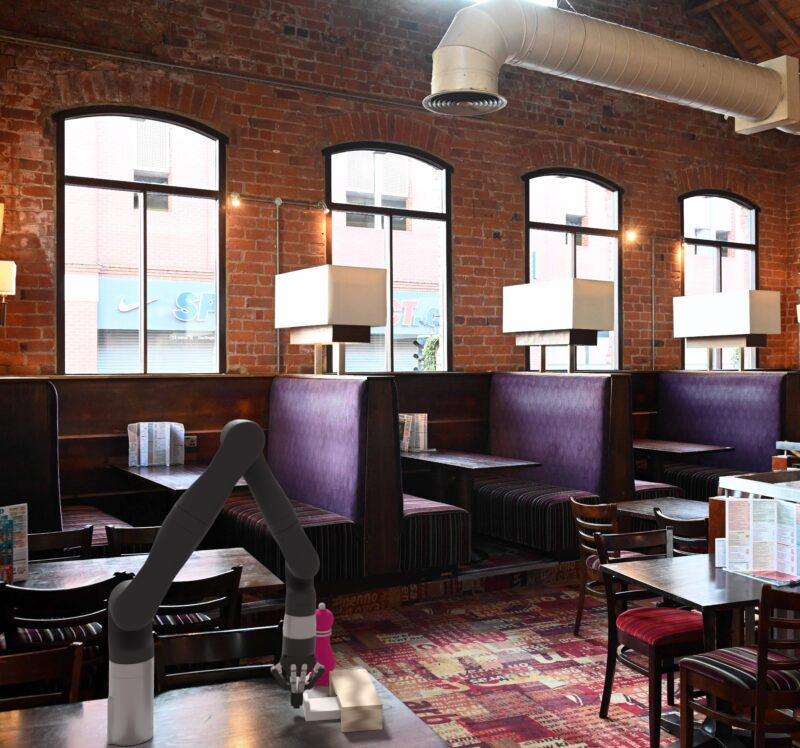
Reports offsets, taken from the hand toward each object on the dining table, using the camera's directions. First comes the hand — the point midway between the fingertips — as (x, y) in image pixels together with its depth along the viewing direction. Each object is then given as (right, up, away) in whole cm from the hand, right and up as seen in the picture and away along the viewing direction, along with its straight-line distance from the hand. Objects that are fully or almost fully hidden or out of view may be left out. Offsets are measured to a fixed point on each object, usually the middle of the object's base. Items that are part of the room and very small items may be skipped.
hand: (296, 707), depth 202 cm
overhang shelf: (+13, -2, +3) cm, 14 cm away
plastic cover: (+10, -2, +2) cm, 10 cm away
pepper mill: (+4, -2, +21) cm, 22 cm away
